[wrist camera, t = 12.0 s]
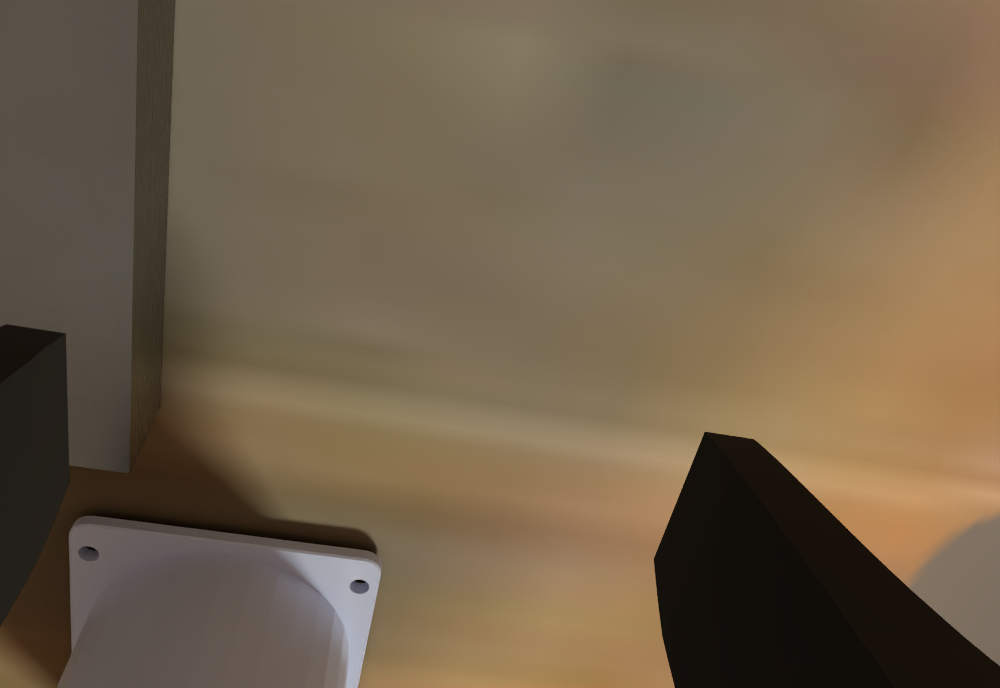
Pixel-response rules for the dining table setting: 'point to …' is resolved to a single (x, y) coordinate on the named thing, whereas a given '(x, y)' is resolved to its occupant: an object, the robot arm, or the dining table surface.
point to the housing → (89, 204)
